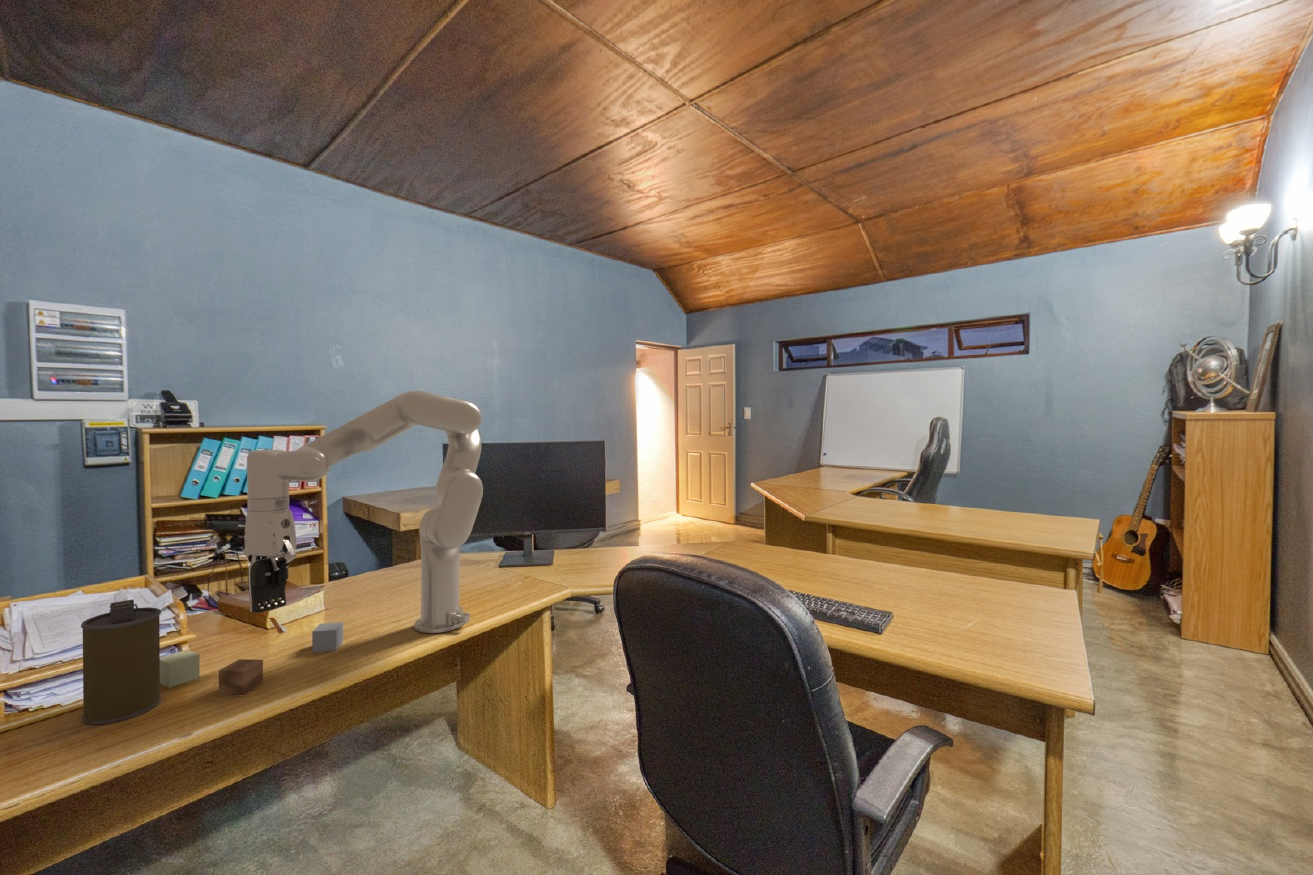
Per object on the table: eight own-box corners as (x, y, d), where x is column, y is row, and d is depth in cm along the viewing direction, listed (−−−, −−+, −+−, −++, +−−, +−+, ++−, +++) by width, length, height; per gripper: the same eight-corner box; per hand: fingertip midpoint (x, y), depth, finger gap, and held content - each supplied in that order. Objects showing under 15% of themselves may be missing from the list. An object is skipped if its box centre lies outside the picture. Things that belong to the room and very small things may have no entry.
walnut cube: (263, 683, 109) (263, 659, 109) (243, 696, 104) (243, 671, 104) (239, 683, 109) (238, 659, 109) (218, 695, 104) (218, 670, 104)
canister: (164, 709, 99) (164, 602, 98) (82, 732, 91) (81, 617, 90) (157, 689, 106) (157, 589, 105) (80, 709, 98) (80, 602, 98)
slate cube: (343, 642, 130) (343, 622, 130) (336, 650, 125) (336, 629, 125) (320, 644, 129) (320, 623, 129) (312, 652, 124) (312, 631, 124)
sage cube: (199, 677, 111) (199, 654, 111) (169, 688, 106) (169, 663, 106) (187, 672, 113) (187, 649, 113) (157, 682, 109) (157, 658, 109)
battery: (257, 615, 115) (256, 563, 114) (247, 612, 116) (246, 561, 116) (291, 605, 121) (290, 556, 121) (282, 603, 123) (281, 554, 122)
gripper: (313, 504, 120) (314, 584, 120) (256, 500, 124) (258, 578, 125) (281, 509, 112) (283, 594, 113) (223, 505, 117) (224, 587, 117)
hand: (269, 585), depth 119 cm, fingers closed on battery, 4 cm apart
